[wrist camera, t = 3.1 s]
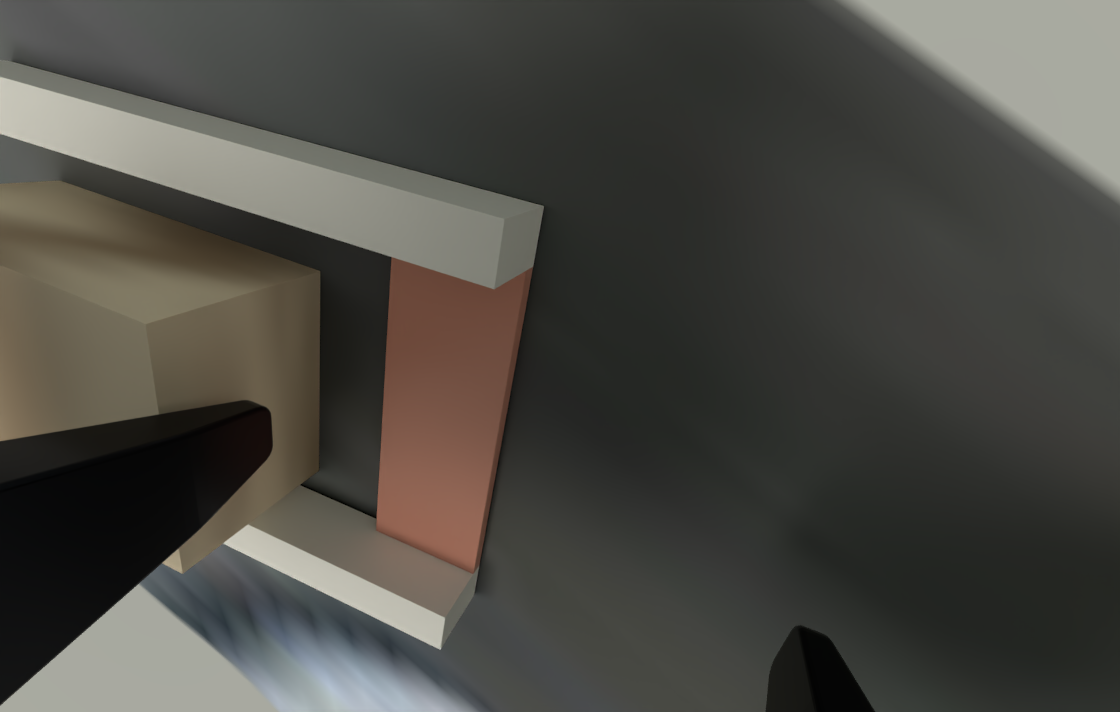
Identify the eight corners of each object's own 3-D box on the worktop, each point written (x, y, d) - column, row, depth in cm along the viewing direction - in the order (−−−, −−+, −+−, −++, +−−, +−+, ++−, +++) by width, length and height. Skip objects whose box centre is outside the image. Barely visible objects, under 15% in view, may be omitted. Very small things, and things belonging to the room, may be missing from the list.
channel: (544, 206, 8) (504, 218, 7) (474, 595, 12) (440, 649, 11) (9, 60, 11) (-94, 50, 10) (93, 420, 15) (28, 448, 14)
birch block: (324, 269, 10) (145, 324, 7) (321, 468, 13) (182, 574, 10) (66, 179, 12) (-173, 194, 9) (103, 371, 14) (-78, 436, 11)
